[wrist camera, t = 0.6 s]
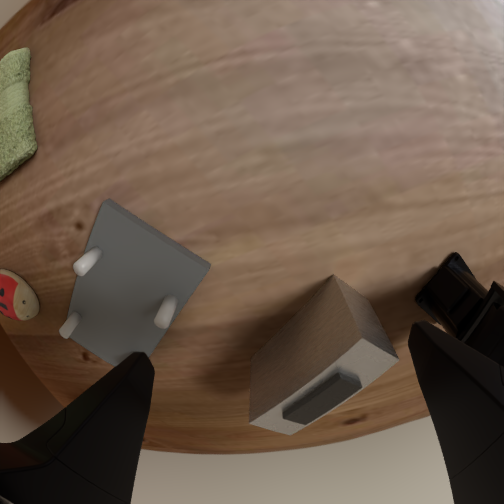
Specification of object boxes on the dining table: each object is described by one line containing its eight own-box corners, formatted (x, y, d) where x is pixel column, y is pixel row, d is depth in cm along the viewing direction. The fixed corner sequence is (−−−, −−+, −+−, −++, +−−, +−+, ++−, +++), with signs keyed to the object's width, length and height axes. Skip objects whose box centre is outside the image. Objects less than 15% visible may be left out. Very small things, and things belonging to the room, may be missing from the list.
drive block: (366, 297, 23) (402, 365, 16) (285, 372, 28) (290, 440, 20) (333, 273, 22) (364, 344, 14) (250, 357, 27) (248, 429, 19)
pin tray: (211, 263, 22) (202, 291, 18) (137, 371, 28) (127, 397, 25) (109, 198, 20) (82, 213, 16) (67, 328, 26) (51, 349, 22)
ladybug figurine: (47, 320, 26) (33, 337, 23) (3, 302, 26) (-10, 316, 22) (34, 274, 23) (16, 290, 20) (-9, 260, 23) (-26, 273, 20)
